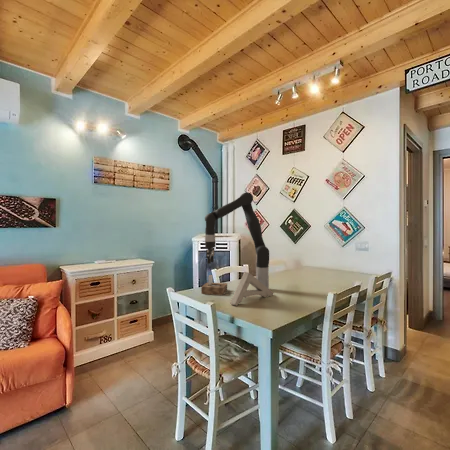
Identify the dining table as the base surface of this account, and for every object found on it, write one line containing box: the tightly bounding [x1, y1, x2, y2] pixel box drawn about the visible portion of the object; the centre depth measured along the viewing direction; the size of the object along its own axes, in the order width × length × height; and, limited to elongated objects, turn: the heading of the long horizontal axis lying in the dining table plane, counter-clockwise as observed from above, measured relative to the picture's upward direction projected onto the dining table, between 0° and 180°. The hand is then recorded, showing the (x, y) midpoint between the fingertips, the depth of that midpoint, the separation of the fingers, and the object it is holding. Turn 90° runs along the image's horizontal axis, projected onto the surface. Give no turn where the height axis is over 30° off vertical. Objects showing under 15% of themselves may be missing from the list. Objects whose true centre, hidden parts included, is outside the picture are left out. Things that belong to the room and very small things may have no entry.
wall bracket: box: [229, 271, 274, 307], centre depth 182 cm, size 22×4×30 cm
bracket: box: [207, 274, 220, 286], centre depth 202 cm, size 8×4×10 cm, turn 78°
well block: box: [200, 281, 228, 296], centre depth 202 cm, size 16×14×5 cm
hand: (210, 262), depth 203 cm, fingers open, 8 cm apart
